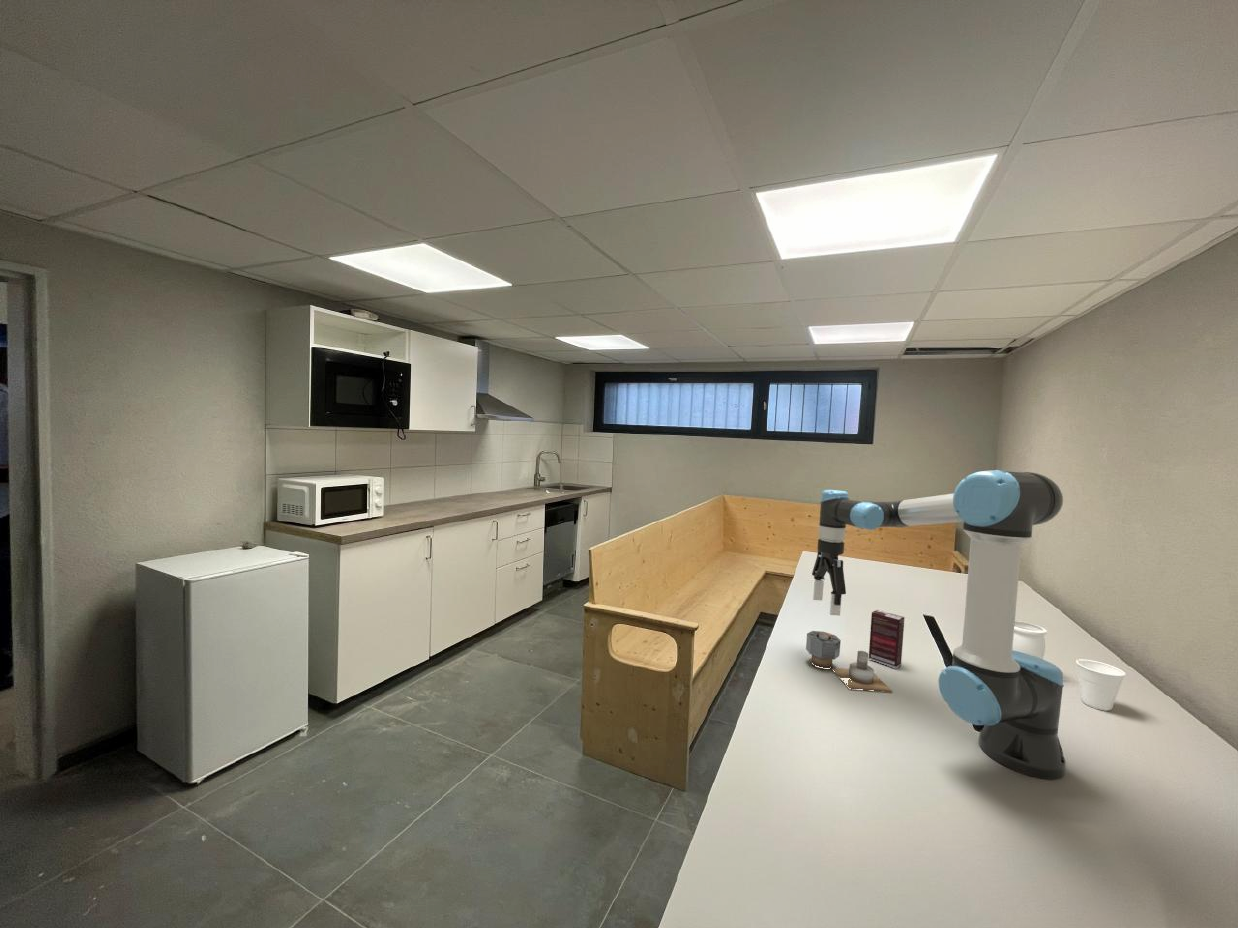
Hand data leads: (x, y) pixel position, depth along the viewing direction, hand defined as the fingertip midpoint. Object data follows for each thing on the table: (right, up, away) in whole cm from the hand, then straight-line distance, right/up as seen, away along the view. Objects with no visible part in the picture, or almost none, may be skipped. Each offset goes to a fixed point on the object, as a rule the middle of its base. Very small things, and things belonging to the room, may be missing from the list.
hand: (825, 607), depth 151 cm
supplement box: (+21, -20, +5) cm, 29 cm away
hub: (+7, -19, -9) cm, 22 cm away
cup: (+69, -23, -15) cm, 75 cm away
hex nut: (-1, -14, +1) cm, 14 cm away
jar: (+64, -22, +4) cm, 68 cm away
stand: (-1, -18, +1) cm, 18 cm away
